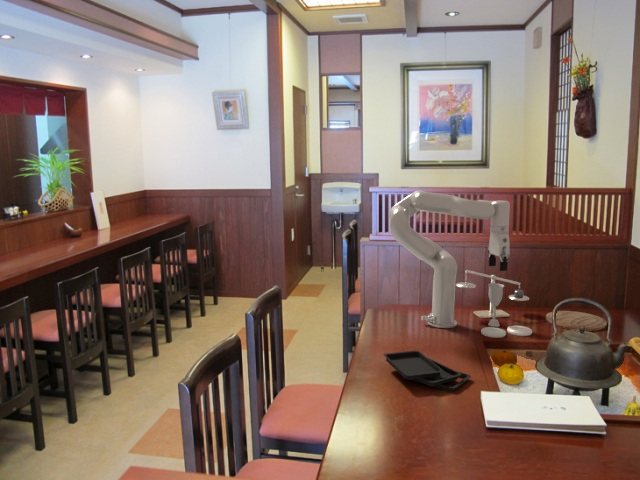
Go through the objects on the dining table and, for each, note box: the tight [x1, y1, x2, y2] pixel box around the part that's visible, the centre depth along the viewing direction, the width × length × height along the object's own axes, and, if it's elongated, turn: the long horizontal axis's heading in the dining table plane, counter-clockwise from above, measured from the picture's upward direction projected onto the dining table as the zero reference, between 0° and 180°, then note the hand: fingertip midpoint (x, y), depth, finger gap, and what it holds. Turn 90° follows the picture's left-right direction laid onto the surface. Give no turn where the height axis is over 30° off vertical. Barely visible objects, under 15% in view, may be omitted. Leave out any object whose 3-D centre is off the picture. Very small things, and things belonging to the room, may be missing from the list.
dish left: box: [480, 326, 507, 339], centre depth 236 cm, size 10×10×1 cm
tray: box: [383, 349, 472, 392], centre depth 191 cm, size 30×23×5 cm
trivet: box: [545, 310, 608, 330], centre depth 252 cm, size 25×25×2 cm
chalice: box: [487, 282, 505, 328], centre depth 247 cm, size 7×7×18 cm
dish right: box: [506, 325, 533, 337], centre depth 239 cm, size 10×10×1 cm
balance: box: [455, 269, 530, 319], centre depth 261 cm, size 36×9×22 cm, turn 101°
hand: (497, 268), depth 244 cm, fingers open, 9 cm apart
